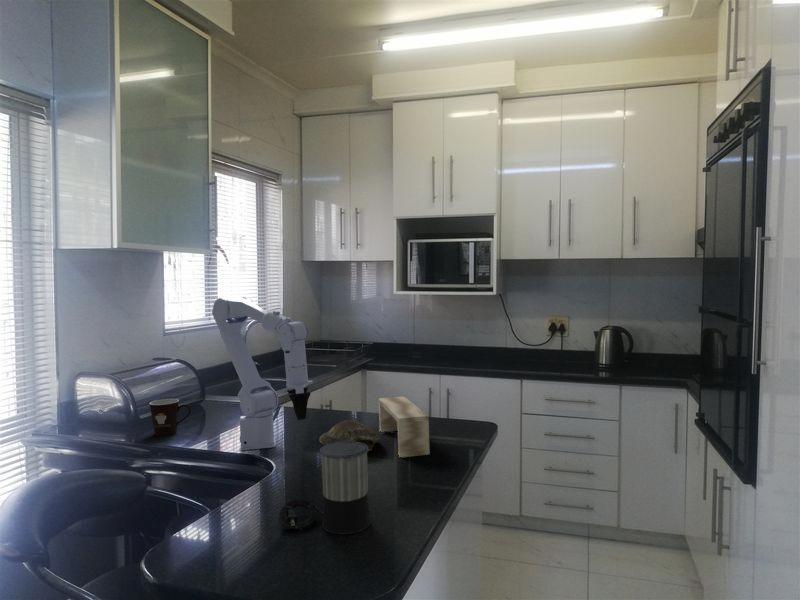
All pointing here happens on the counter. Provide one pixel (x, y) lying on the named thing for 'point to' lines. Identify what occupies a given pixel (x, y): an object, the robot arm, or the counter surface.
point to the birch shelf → (405, 425)
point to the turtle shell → (350, 434)
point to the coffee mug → (166, 416)
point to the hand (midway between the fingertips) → (300, 416)
